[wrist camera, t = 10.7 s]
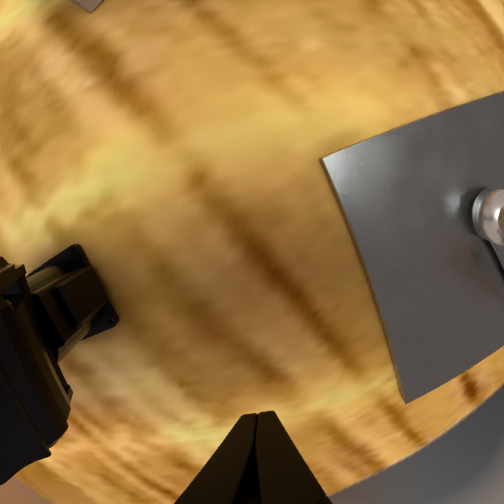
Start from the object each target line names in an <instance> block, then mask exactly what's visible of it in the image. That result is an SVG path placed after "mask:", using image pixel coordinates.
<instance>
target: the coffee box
mask: <svg viewBox="0 0 504 504" xmlns="http://www.w3.org/2000/svg"><path fill="white" fill-rule="evenodd" d="M71 1H72V2H74V3H75V4H77V5H78V6H80V7H82V8H83V9H85V10H86V11H88V12H92V11H93V10H94V9H95V8H96V7H97V6H98V5H99V4H100V3H101V2H102V1H103V0H71Z"/></svg>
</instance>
